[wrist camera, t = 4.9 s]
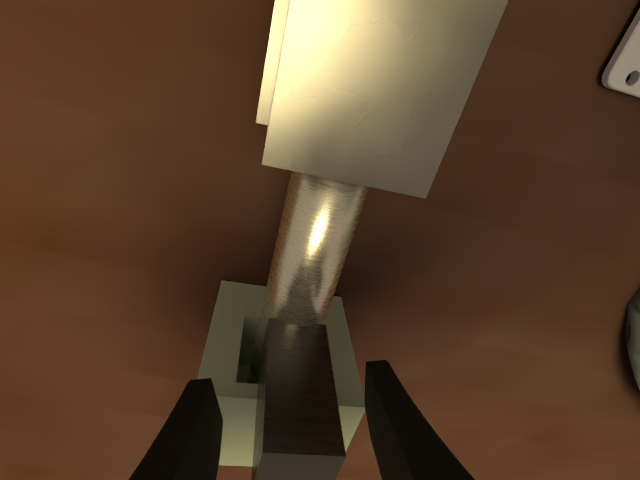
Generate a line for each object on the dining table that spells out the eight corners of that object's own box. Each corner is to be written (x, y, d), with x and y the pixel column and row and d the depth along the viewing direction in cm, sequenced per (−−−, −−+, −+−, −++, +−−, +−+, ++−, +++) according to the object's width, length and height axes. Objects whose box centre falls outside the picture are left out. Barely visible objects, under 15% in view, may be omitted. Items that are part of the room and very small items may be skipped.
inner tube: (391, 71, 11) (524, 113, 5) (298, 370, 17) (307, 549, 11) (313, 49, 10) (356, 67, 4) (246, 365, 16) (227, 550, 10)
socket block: (341, 296, 18) (366, 407, 13) (321, 352, 20) (337, 469, 15) (221, 280, 17) (193, 394, 12) (212, 340, 19) (184, 463, 13)
